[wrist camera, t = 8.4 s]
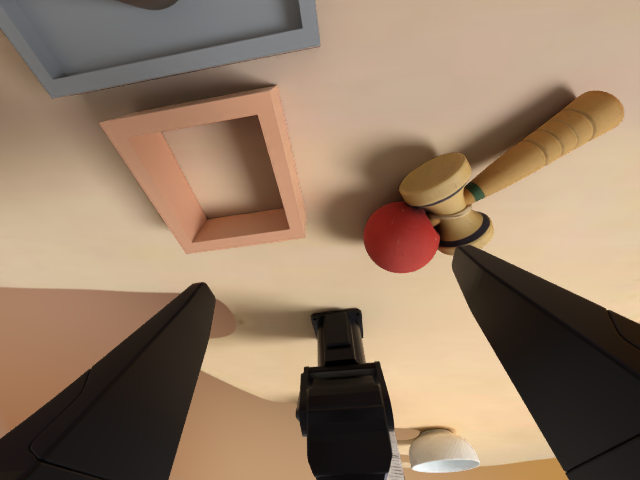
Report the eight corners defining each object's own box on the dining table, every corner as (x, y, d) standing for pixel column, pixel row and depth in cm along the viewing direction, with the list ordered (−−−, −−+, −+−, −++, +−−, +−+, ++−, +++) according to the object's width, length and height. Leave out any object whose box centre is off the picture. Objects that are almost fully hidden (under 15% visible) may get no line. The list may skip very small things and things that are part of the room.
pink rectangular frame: (306, 214, 21) (305, 237, 19) (202, 229, 22) (186, 254, 19) (277, 85, 15) (269, 90, 13) (135, 111, 16) (98, 122, 13)
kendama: (549, 44, 16) (335, 211, 20) (679, 48, 11) (363, 264, 15) (547, 136, 20) (375, 253, 25) (636, 165, 16) (405, 303, 20)
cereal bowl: (436, 419, 59) (449, 457, 53) (479, 428, 64) (495, 463, 59) (391, 437, 68) (398, 471, 62) (432, 443, 73) (442, 475, 67)
